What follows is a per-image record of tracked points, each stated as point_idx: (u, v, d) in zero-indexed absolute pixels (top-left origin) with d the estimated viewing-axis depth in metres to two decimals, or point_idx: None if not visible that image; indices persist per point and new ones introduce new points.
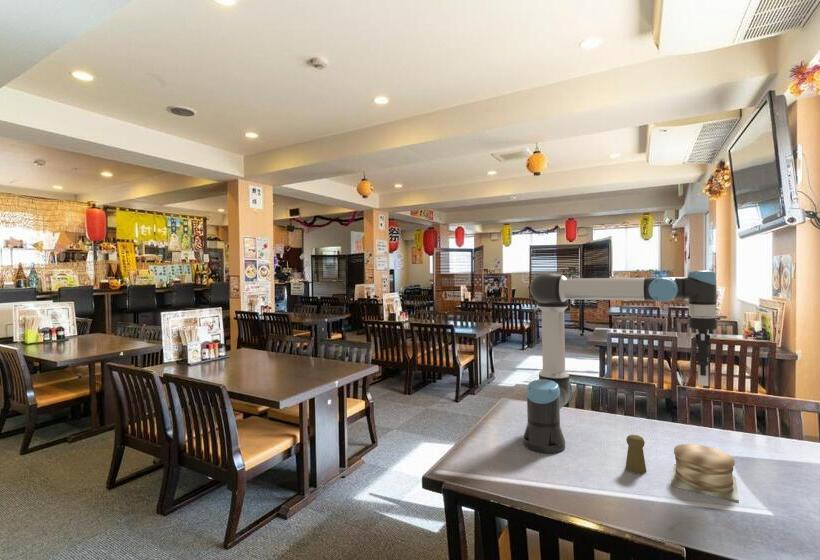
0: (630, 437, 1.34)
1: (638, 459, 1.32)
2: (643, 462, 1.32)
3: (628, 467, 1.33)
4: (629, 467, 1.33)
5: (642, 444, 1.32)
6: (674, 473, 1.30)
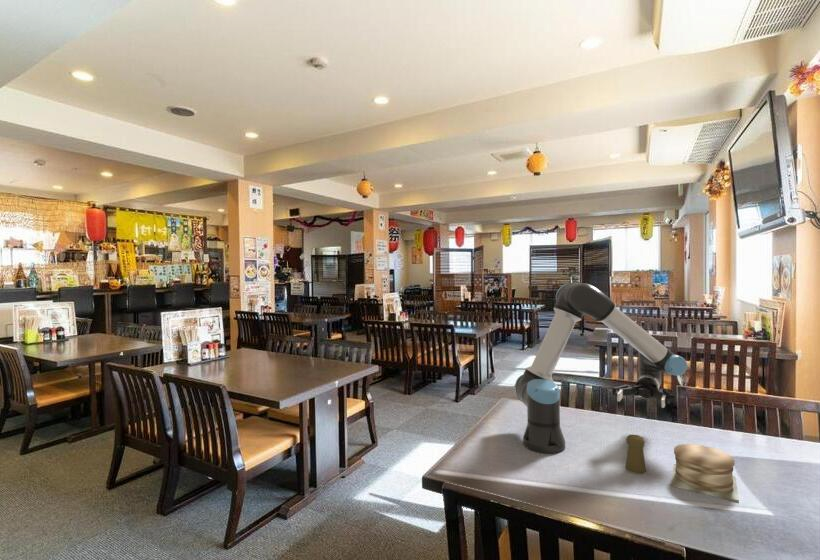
0: (630, 437, 1.34)
1: (638, 459, 1.32)
2: (643, 462, 1.32)
3: (628, 467, 1.33)
4: (629, 467, 1.33)
5: (642, 444, 1.32)
6: (674, 473, 1.30)
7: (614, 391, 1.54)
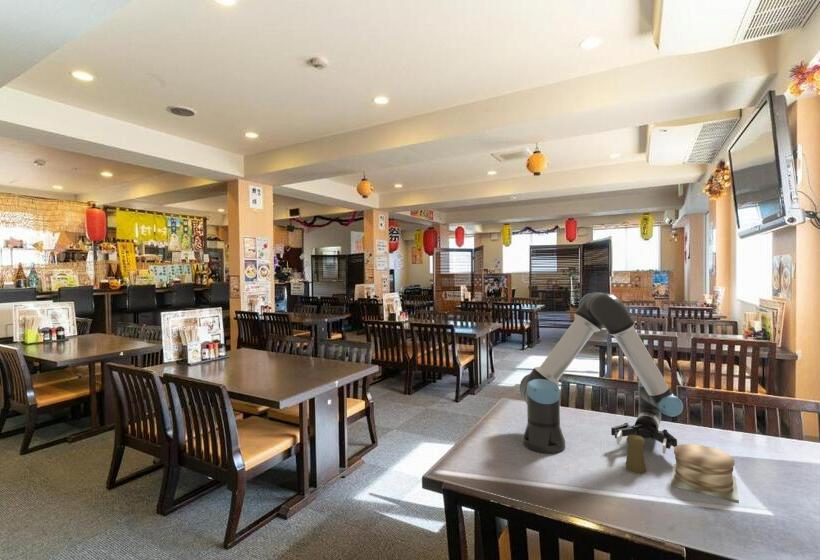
0: (630, 437, 1.34)
1: (638, 459, 1.32)
2: (643, 462, 1.32)
3: (628, 467, 1.33)
4: (629, 467, 1.33)
5: (642, 444, 1.32)
6: (674, 473, 1.30)
7: (613, 431, 1.49)
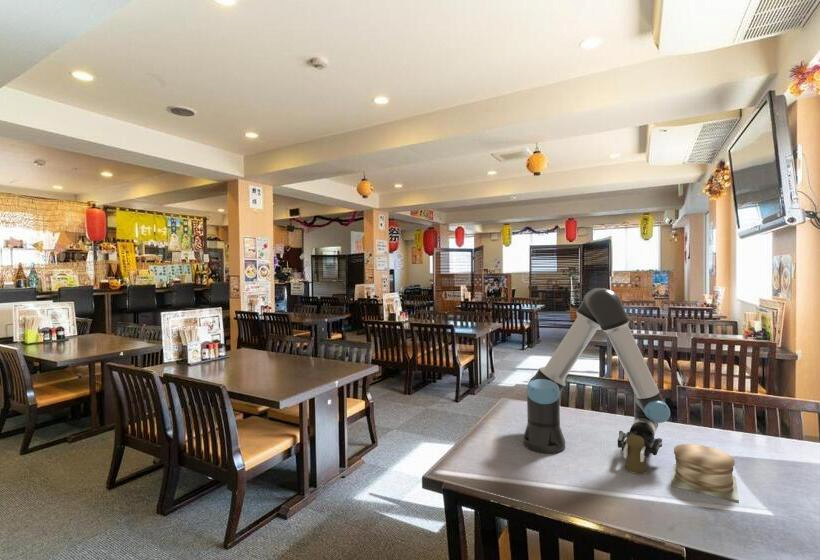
0: (630, 437, 1.34)
1: (638, 459, 1.32)
2: (643, 462, 1.32)
3: (628, 467, 1.33)
4: (629, 467, 1.33)
5: (642, 444, 1.32)
6: (674, 473, 1.30)
7: (620, 444, 1.38)
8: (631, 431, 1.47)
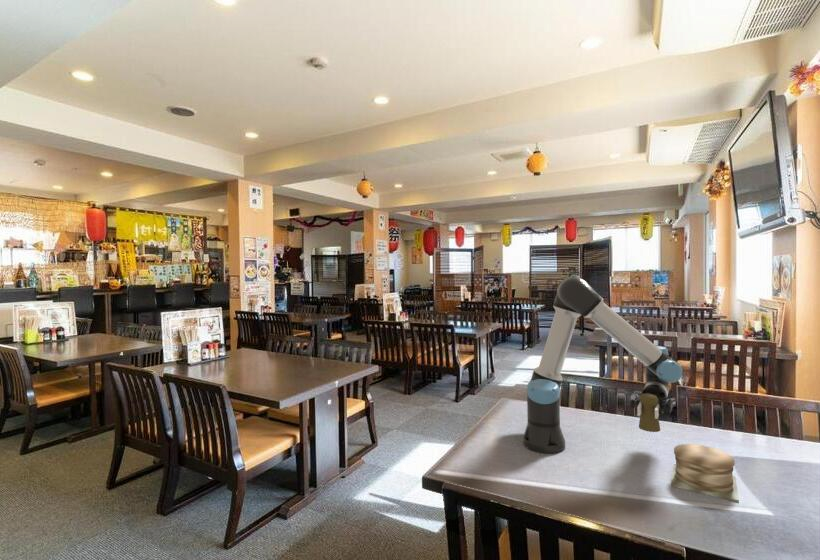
0: (643, 395, 1.32)
1: (652, 417, 1.30)
2: (657, 420, 1.30)
3: (642, 426, 1.32)
4: (642, 426, 1.31)
5: (656, 402, 1.30)
6: (674, 473, 1.30)
7: (633, 403, 1.36)
8: (643, 393, 1.45)
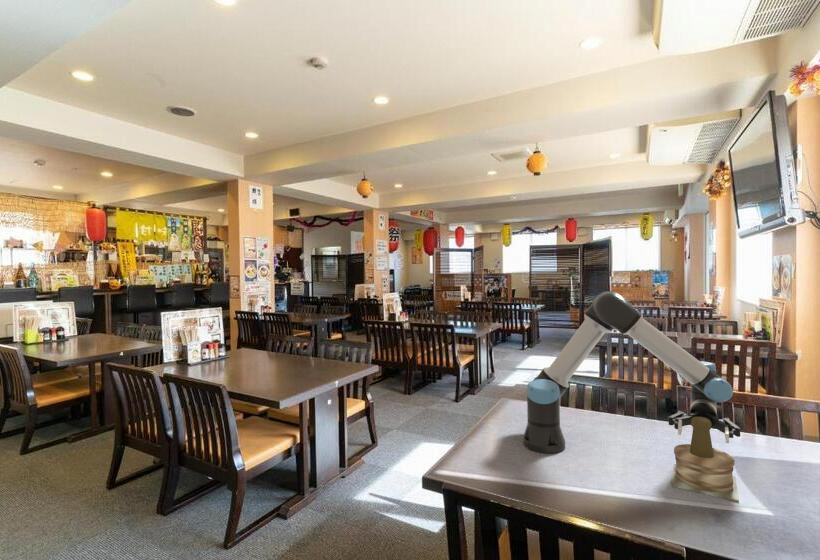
0: (696, 419, 1.25)
1: (705, 442, 1.23)
2: (710, 445, 1.23)
3: (694, 451, 1.25)
4: (695, 451, 1.24)
5: (709, 426, 1.23)
6: (674, 473, 1.30)
7: (671, 421, 1.32)
8: (693, 412, 1.37)
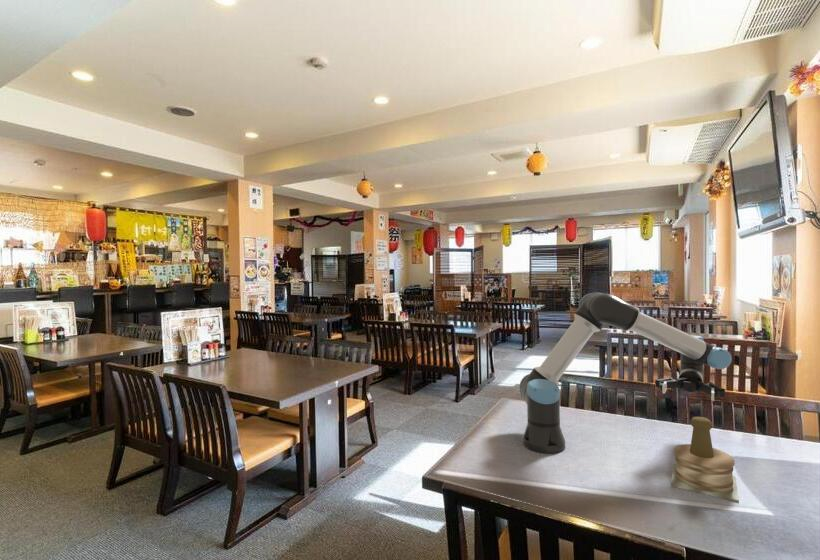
0: (696, 419, 1.25)
1: (705, 442, 1.23)
2: (711, 445, 1.23)
3: (694, 451, 1.25)
4: (695, 451, 1.24)
5: (710, 426, 1.23)
6: (674, 473, 1.30)
7: (657, 383, 1.48)
8: None
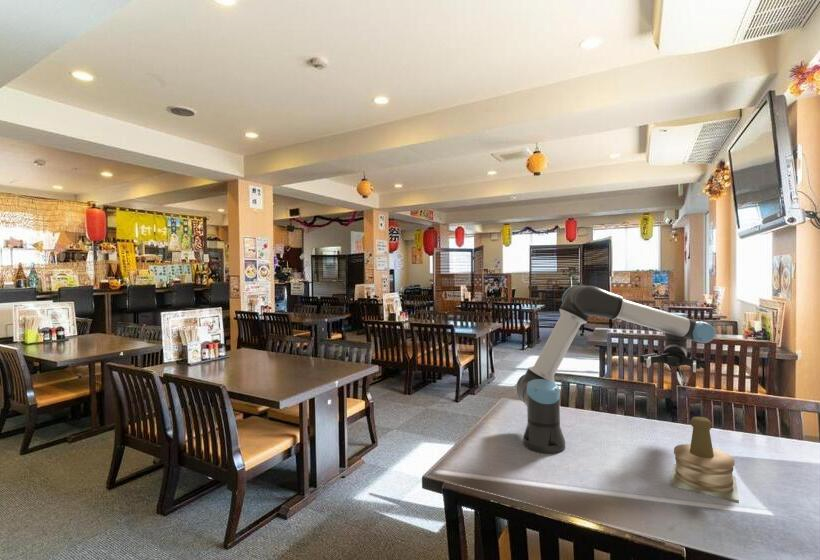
0: (696, 419, 1.25)
1: (705, 442, 1.23)
2: (710, 445, 1.23)
3: (694, 451, 1.25)
4: (695, 451, 1.24)
5: (709, 426, 1.23)
6: (674, 473, 1.30)
7: (642, 359, 1.52)
8: None
